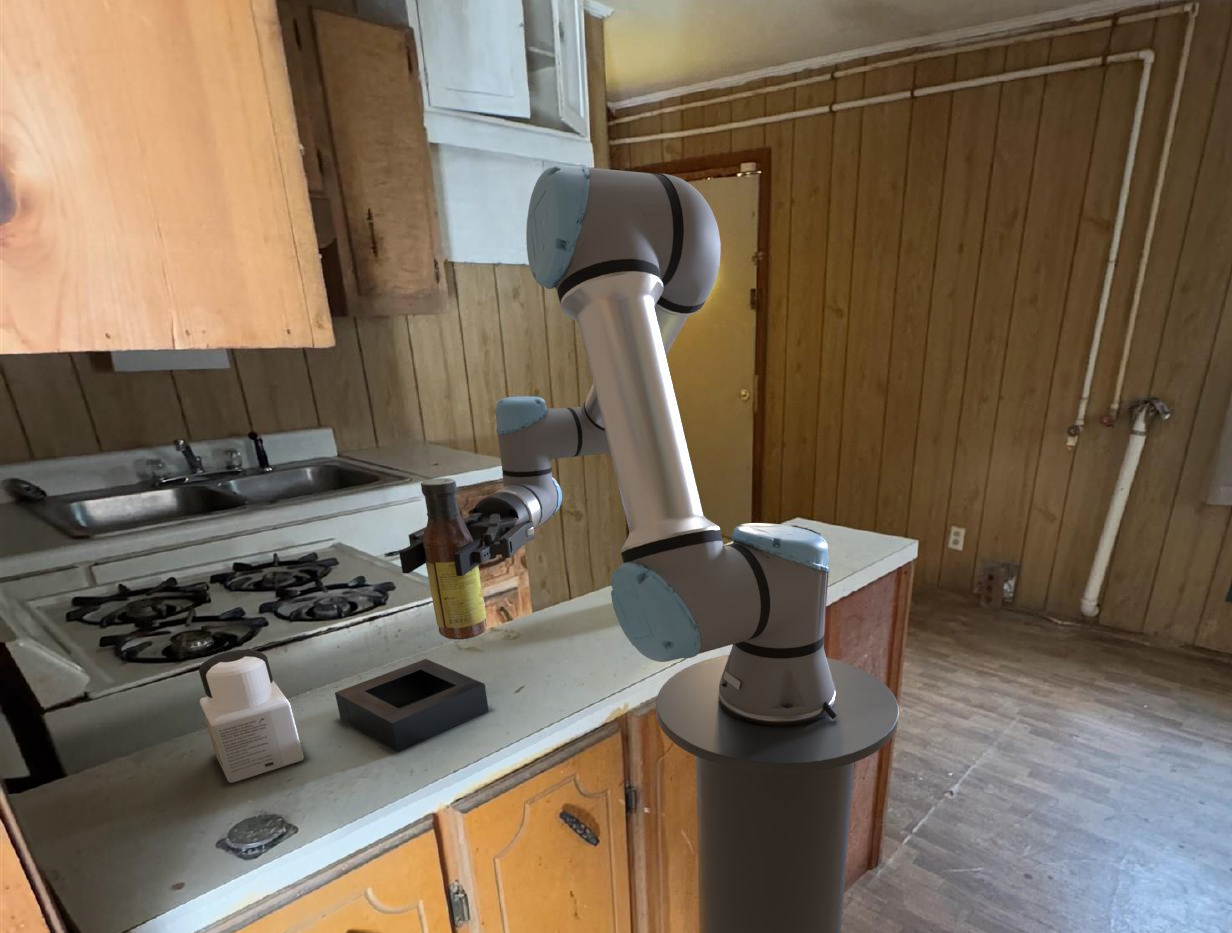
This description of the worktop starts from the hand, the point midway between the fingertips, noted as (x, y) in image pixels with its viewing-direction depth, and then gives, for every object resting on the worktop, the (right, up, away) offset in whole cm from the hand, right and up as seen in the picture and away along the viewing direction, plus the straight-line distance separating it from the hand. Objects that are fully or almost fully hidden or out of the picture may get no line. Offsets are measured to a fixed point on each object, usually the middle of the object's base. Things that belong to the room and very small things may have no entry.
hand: (430, 563), depth 93 cm
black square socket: (-5, -19, +7) cm, 21 cm away
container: (-19, -23, -3) cm, 30 cm away
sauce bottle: (+1, -8, +9) cm, 12 cm away
